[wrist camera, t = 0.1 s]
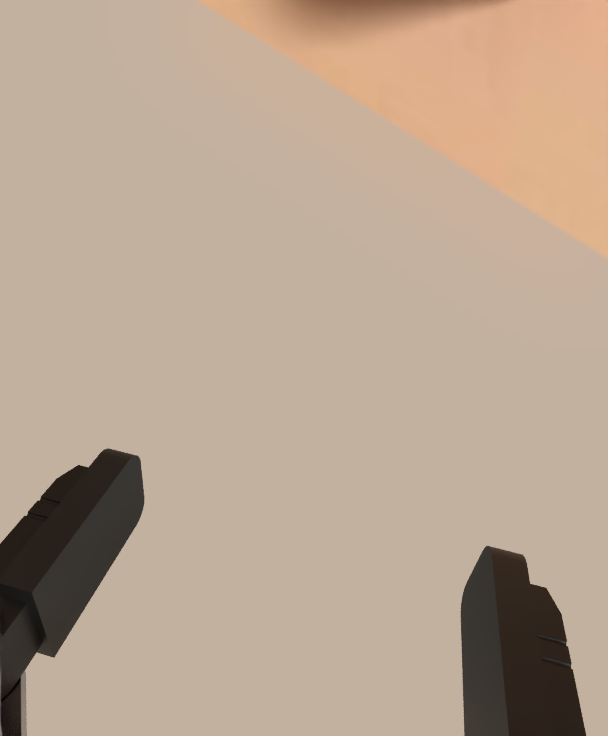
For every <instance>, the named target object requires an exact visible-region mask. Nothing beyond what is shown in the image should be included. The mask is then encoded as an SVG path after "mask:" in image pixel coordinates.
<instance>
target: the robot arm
mask: <svg viewBox="0 0 608 736" xmlns="http://www.w3.org/2000/svg"><path fill="white" fill-rule="evenodd" d="M143 506H144V490H143V481H142V471H141V462H140V458H139V457H138V456H136V455H132V454H128V453H124V452H120V451H116V450H112V449H105V450H103V451H102V452H101V453H100V454H99V455H98V457H97V458H96V459H95V460H94V462H93V463H92V464H91V465H90V466H89V468H88V467H84V466H80V465H78V466H76V467H75V468H73V469H71V470H70V471H68V472H67V473H65V474H63V475H62V476H60V477H59V478H57V479H56V480H55V481H54V483H53V484H52V485H51V486H50V487H49V488H48V489H47V490H46V492H45V493H44V494H43V495H42V496H41V499H40V501H37V502H36V503H35V504H34V506H33V507H32V508H31V509H30V510H29V511H28V515H27V516H24V517H23V518H22V519H21V520H20V522H19V523H18V524H17V525H16V526H15V528H14V529H13V530H12V531H11V532H10V533H9V534H8V536H7V537H6V538H5V539H4V540H3V541H2V542H1V544H0V736H27V731H26V729H27V728H26V674H25V669H26V668H27V666H28V665H29V663H30V661H31V660H32V658H33V657H34V655H35V654H36V652H38V653H41V654H44V655H47V656H50V657H55V655H56V654H57V652H58V650H59V649H60V647H61V646H62V644H63V642H64V641H65V639H66V638H67V636H68V634H69V633H70V631H71V630H72V628H73V626H74V625H75V623H76V621H77V620H78V618H79V617H80V615H81V613H82V612H83V610H84V609H85V607H86V605H87V604H88V602H89V601H90V599H91V597H92V596H93V594H94V592H95V591H96V589H97V588H98V586H99V585H100V583H101V581H102V580H103V578H104V576H105V575H106V573H107V571H108V570H109V568H110V567H111V565H112V564H113V562H114V560H115V559H116V557H117V556H118V554H119V552H120V551H121V549H122V548H123V546H124V544H125V543H126V541H127V540H128V538H129V536H130V535H131V533H132V531H133V530H134V528H135V527H136V525H137V523H138V521H139V519H140V517H141V514H142V510H143ZM461 636H462V668H463V697H464V698H463V700H464V731H465V736H586V732H585V728H584V723H583V718H582V713H581V708H580V703H579V698H578V694H577V689H576V683H575V679H574V674H573V670H572V669H571V659H570V654H569V650H568V647H567V646H566V642H567V639H566V634H565V630H564V625H563V620H562V615H561V613H560V611H559V609H558V608H557V606H556V604H555V602H554V601H553V599H552V597H551V595H550V594H549V592H548V590H547V589H546V588H544V587H540V586H537V585H532V584H530V581H529V574H528V568H527V563H526V560H525V557H524V556H523V555H521V554H517V553H513V552H510V551H505V550H501V549H498V548H494V547H490V546H486V547H485V548H484V550H483V551H482V554H481V555H480V557H479V560H478V562H477V563H476V565H475V567H474V569H473V571H472V574H471V575H470V577H469V580H468V581H467V584H466V586H465V589H464V592H463V597H462V603H461Z"/></svg>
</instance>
